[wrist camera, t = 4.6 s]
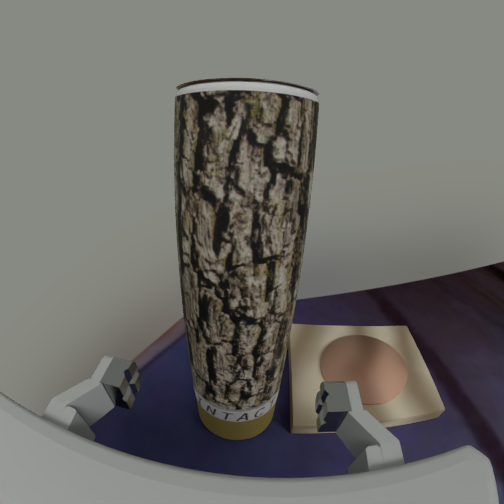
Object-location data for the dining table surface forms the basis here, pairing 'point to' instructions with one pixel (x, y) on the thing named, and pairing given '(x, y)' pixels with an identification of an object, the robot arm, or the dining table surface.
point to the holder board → (360, 373)
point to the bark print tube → (241, 238)
